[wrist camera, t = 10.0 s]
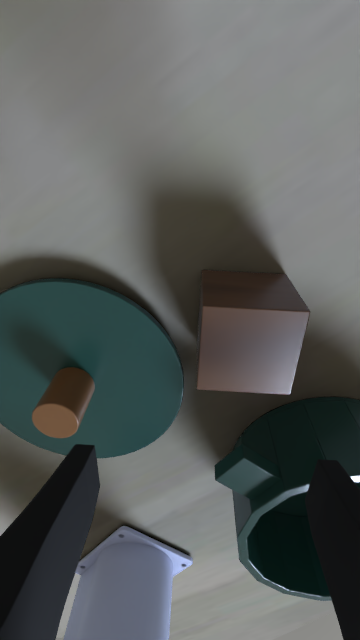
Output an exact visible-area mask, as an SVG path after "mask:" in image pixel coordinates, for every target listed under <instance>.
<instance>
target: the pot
mask: <svg viewBox="0 0 360 640" xmlns="http://www.w3.org/2000/svg"><path fill="white" fill-rule="evenodd" d="M318 459H322V460H337V461H338V462H339V463H340V464H341V465H342V467H343V468H344V469H345V471H346V472H347V473H348V474H349V476H350V477H351V478H352V480H353V481H354V482H355V483H356V485H357V486H358V487H359V489H360V400H356V399H350V398H342V397H319V398H310V399H305V400H300V401H296V402H293V403H289V404H286V405H283V406H281V407H279V408H276V409H274V410H272V411H270V412H268V413H267V414H265V415H263V416H261V417H260V418H259V419H257V420H256V421H255V422H253V423H252V424H251V425H250V426H249V427H248V428H247V429H246V430H245V431H244V432H243V433H242V435H241V436H240V437H239V439H238V440H237V442H236V444H235V446H234V449H233V451H232V452H231V453H230V454H228V455H227V456H226V457H225V458H223V459H222V460H221V461H220V462H218V463H217V464H216V465H215V480H216V481H218V482H219V483H221V484H223V485H225V486H227V487H228V488H230V489H232V491H233V501H234V512H235V522H236V533H237V543H238V552H239V560H240V562H241V563H242V564H243V565H244V566H245V568H246V569H247V570H248V571H249V572H250V573H251V574H252V575H253V577H254V578H255V579H256V580H257V581H259V582H261V583H263V584H265V585H267V586H269V587H271V588H273V589H276V590H278V591H280V592H282V593H284V594H289V595H294V596H299V597H304V598H309V599H314V600H321V601H327V600H332V599H331V596H330V593H329V589H328V586H327V583H326V580H325V577H324V573H323V570H322V567H321V564H320V561H319V557H318V554H317V551H316V548H315V544H314V541H313V538H312V534H311V529H310V524H309V520H308V514H307V509H306V504H305V497H306V494H307V491H308V488H309V485H310V482H311V479H312V476H313V473H314V470H315V467H316V464H317V461H318Z"/></svg>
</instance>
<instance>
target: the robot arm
mask: <svg viewBox="0 0 360 640" xmlns="http://www.w3.org/2000/svg"><path fill="white" fill-rule="evenodd" d="M99 488H100V482H99V474H98V466H97V459H96V451H95V445H85V444H76V445H74V446H73V447H72V449H71V450H70V452H69V453H68V454H67V456H66V457H65V459H64V460H63V461H62V463H61V464H60V465H59V467H58V468H57V469H56V471H55V472H54V473H53V475H52V476H51V477H50V478H49V480H48V481H47V482H46V484H45V485H44V486H43V487H42V488H41V490H40V491H39V492H38V493H37V495H36V496H35V497H34V498H33V499H32V501H31V502H30V503H29V504H28V506H27V507H26V508H25V509H24V510H23V511H22V513H21V514H20V515H19V516H18V517H17V518H16V519H15V520H14V522H13V523H12V524H11V525H10V526H9V527H8V528H7V529H6V531H5V532H4V533H3V534H2V535H1V536H0V640H55V639H56V635H57V631H58V627H59V623H60V619H61V616H62V612H63V609H64V605H65V602H66V599H67V596H68V593H69V590H70V587H71V584H72V581H73V578H74V575H75V573H77V574H79V575H81V577H80V581H79V584H78V588H77V592H76V595H75V599H74V603H73V606H72V610H71V614H70V617H69V621H68V624H67V628H66V632H65V635H64V639H63V640H169V629H170V613H171V597H172V580H173V576H175V575H176V574H178V573H179V572H181V571H182V570H184V569H185V568H187V567H189V566H190V565H191V564H192V563H193V559H192V557H190V556H188V555H186V554H184V553H182V552H180V551H178V550H176V549H174V548H171V547H169V546H167V545H165V544H163V543H161V542H159V541H157V540H155V539H153V538H150V537H148V536H146V535H144V534H142V533H140V532H138V531H136V530H134V529H132V528H129V527H127V526H122V527H120V528H119V529H118V530H116V531H115V532H114V533H113V534H112V535H110V536H109V537H108V538H107V539H106V540H104V541H103V542H102V543H101V544H100V545H98V546H97V547H96V548H95V549H94V550H92V551H91V552H90V553H89V554H88V555H87V556H85V557H84V558H83V559H82V560H81V561H79V559H80V556H81V553H82V550H83V547H84V544H85V541H86V538H87V535H88V532H89V529H90V526H91V523H92V520H93V515H94V511H95V507H96V502H97V498H98V493H99ZM305 504H306V509H307V514H308V520H309V524H310V529H311V534H312V538H313V541H314V544H315V548H316V551H317V554H318V557H319V561H320V564H321V567H322V570H323V573H324V577H325V580H326V583H327V586H328V589H329V593H330V596H331V599H332V602H333V605H334V609H335V612H336V615H337V618H338V621H339V625H340V629H341V632H342V636H343V639H344V640H360V489H359V487H358V486H357V485H356V483H355V482H354V481H353V480H352V478H351V477H350V476H349V474H348V473H347V472H346V471H345V469H344V468H343V467H342V465H341V464H340V463H339V462H338V461H337V460H322V459H318V461H317V464H316V467H315V470H314V473H313V476H312V479H311V482H310V485H309V488H308V491H307V494H306V497H305Z"/></svg>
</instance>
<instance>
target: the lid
mask: <svg viewBox="0 0 360 640" xmlns="http://www.w3.org/2000/svg"><path fill="white" fill-rule="evenodd" d="M183 389H184V376H183V368H182V364H181V360H180V357H179V355H178V352H177V350H176V347H175V345H174V344H173V342H172V340H171V339H170V337H169V335H168V334H167V333H166V331H165V330H164V329H163V328H162V326H161V325H160V324H159V323H158V322H157V321H156V320H155V319H154V318H153V317H152V316H151V315H150V314H149V313H148V312H147V311H146V310H144V309H143V308H142V307H140V306H139V305H138V304H136V303H135V302H133V301H132V300H130V299H128V298H127V297H125V296H123V295H122V294H119V293H117V292H115V291H113V290H111V289H108V288H106V287H103V286H100V285H97V284H93V283H90V282H85V281H80V280H74V279H61V278H53V279H40V280H35V281H29V282H25V283H22V284H19V285H17V286H14V287H11V288H10V289H8V290H6V291H4V292H2V293H0V423H1V424H2V425H3V426H5V427H6V428H7V429H8V430H10V431H11V432H13V433H14V434H16V435H17V436H19V437H20V438H22V439H24V440H26V441H28V442H29V443H31V444H34V445H36V446H38V447H40V448H43V449H46V450H49V451H51V452H55V453H59V454H62V455H67V454H68V453H69V452H70V450H71V449H72V447H73V446H74V445H76V444H85V445H95V451H96V458H108V457H116V456H120V455H125V454H128V453H131V452H134V451H137V450H139V449H141V448H143V447H146V446H147V445H149V444H150V443H152V442H154V441H155V440H156V439H157V438H159V437H160V436H161V435H162V434H163V433H164V432H165V431H166V430H167V429H168V428H169V427H170V425H171V424H172V422H173V421H174V419H175V418H176V416H177V414H178V411H179V409H180V406H181V402H182V398H183Z"/></svg>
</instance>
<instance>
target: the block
mask: <svg viewBox="0 0 360 640" xmlns="http://www.w3.org/2000/svg"><path fill="white" fill-rule="evenodd" d="M309 315H310V310H309V309H308V307H307V306H306V304H305V303H304V301H303V300H302V298H301V297H300V295H299V294H298V292H297V290H296V289H295V287H294V286H293V284H292V283H291V281H290V280H289V278H288V277H287V275H286V274H273V273H252V272H232V271H212V270H202V275H201V290H200V304H199V319H198V334H197V386H196V388H197V390H214V391H230V392H247V393H264V394H281V395H290V394H291V389H292V385H293V381H294V377H295V373H296V369H297V365H298V360H299V356H300V352H301V348H302V344H303V340H304V336H305V331H306V327H307V323H308V319H309Z"/></svg>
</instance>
